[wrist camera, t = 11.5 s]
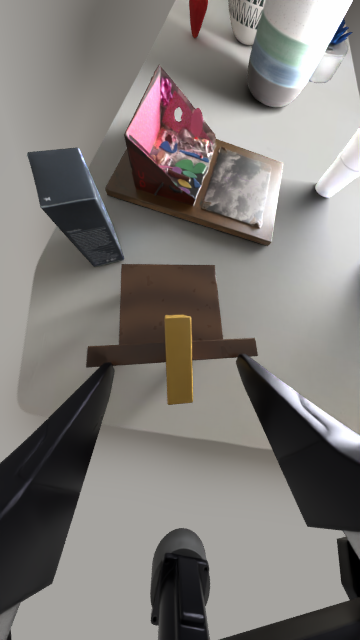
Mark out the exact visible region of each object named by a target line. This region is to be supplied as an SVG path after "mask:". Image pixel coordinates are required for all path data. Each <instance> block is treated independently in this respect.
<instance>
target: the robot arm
mask: <svg viewBox="0 0 360 640" xmlns="http://www.w3.org/2000/svg"><path fill="white" fill-rule="evenodd" d="M236 365H237V368H238V371H239V374H240V376H241V379H242V382H243V385H244V387H245V390H246V392H247V394H248V396H249V398H250V401H251V403H252V405H253V407H254V409H255V412H256V414H257V416H258V418H259V421H260V423H261V425H262V427H263V429H264V432H265V434H266V436H267V438H268V441H269V443H270V445H271V447H272V449H273V452H274V454H275V456H276V458H277V460H278V463H279V465H280V467H281V470H282V472H283V474H284V476H285V478H286V480H287V483H288V485H289V487H290V489H291V491H292V494H293V496H294V498H295V500H296V503H297V505H298V507H299V509H300V512H301V514H302V516H303V518H304V520H305V522H306V524H307V526H308V527H315V528H324V529H333V530H342V531H343V532H344V534H345V535H346V537H343V538H339V539H337V544H338V555H339V563H340V564H339V565H340V574H341V583H342V585H343V587H344V589H345V591H346V593H347V595H348V597H349V599H350V600H349V601H346V602H343V603H339V604H336V605H333V606H329V607H326V608H323V609H320V610H316V611H313V612H310V613H306V614H303V615H300V616H296V617H293V618H290V619H286V620H283V621H280V622H276V623H273V624H270V625H266V626H263V627H260V628H256V629H253V630H250V631H246V632H243V633H240V634H237V635H233V636H230V637H226V638H223V639H220V640H360V435H359V434H357V433H356V432H354V431H353V430H351V429H350V428H348V427H347V426H345V425H344V424H342V423H341V422H339V421H338V420H336V419H335V418H333V417H332V416H330V415H329V414H327V413H326V412H324V411H323V410H321V409H320V408H318V407H317V406H316V405H314V404H313V403H311V402H310V401H309V400H307V399H306V398H304V397H303V396H302V395H300V394H298V392H296V391H295V390H294V389H292V388H291V387H290V386H288V385H287V384H285V383H284V382H283V381H281V380H280V379H279V378H277V377H276V376H275V375H273V374H272V373H271V372H269V371H268V370H267V369H265V368H264V367H263V366H261V365H260V364H258V363H257V362H256V361H254V360H253V359H252V358H250V357H249V356H248V355H246V354H239V356H238V358H237V360H236ZM114 372H115V371H114V368H113V365H112V363H111V362H107V363H104V364H102V365H101V366H100V367H99V368H98V369H97V370H96V371H95V372H94V373H93V374H92V375H91V376H90V377H89V378H88V379H87V380H86V381H85V382H84V383H83V384H82V385H81V386H80V387H79V388H78V389H77V390H76V391H75V392H74V393H73V394H72V395H71V396H70V397H69V398H68V399H67V400H66V401H65V402H64V403H63V404H62V405H61V406H60V407H59V408H58V409H57V410H56V411H55V412H54V413H53V414H52V415H51V416H50V417H49V418H48V419H47V420H46V421H45V422H44V423H43V424H42V425H41V426H40V427H39V428H38V429H37V430H36V431H35V432H34V433H33V434H32V435H31V436H30V437H28V438H27V439H26V440H25V441H24V442H23V443H22V444H21V445H20V446H19V447H18V448H17V449H16V450H14V451H13V452H12V453H11V454H10V455H9V456H8V457H7V458H6V459H4V460H3V461H2V462H1V463H0V640H11V626H12V623H13V621H14V618H15V616H16V613H17V610H18V608H19V605H20V603H21V602H22V601H24V600H25V599H27V598H29V597H30V596H32V595H34V594H35V593H37V592H39V591H40V590H42V589H44V588H45V587H47V586H49V585H50V584H52V582H53V579H54V576H55V573H56V570H57V566H58V563H59V560H60V557H61V554H62V551H63V547H64V544H65V541H66V537H67V534H68V531H69V528H70V524H71V521H72V518H73V515H74V511H75V508H76V505H77V501H78V498H79V495H80V492H81V488H82V485H83V482H84V479H85V475H86V472H87V469H88V466H89V462H90V459H91V456H92V453H93V449H94V446H95V443H96V440H97V437H98V433H99V430H100V427H101V424H102V420H103V417H104V414H105V411H106V407H107V404H108V401H109V397H110V393H111V388H112V383H113V378H114ZM166 559H167V560H166ZM208 574H209V565H208V562H207V560H203V559H198V558H194V557H189V556H184V555H179V554H174V553H169V552H166V553H165V554H164V556H163V561H162V565H161V570H160V575H159V579H158V584H157V588H156V593H155V598H154V602H153V607H152V613H151V623H152V624H153V625H158V626H159V631H158V640H210V637H209V630H208V623H207V616H206V610H205V603H204V599H205V593H206V586H207V580H208Z"/></svg>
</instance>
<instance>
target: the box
mask: <svg viewBox="0 0 360 640" xmlns="http://www.w3.org/2000/svg"><path fill="white" fill-rule="evenodd" d="M27 156H28V159H29V162H30V165H31V169H32V173H33V176H34V180H35V185H36V189H37V193H38V197H39V202H40V207H41V208H42V209H43V211H44V212H45V213H46V214H47V215H48V216H49V217H50V218H51V219H52V221H53V222H54V223H55V224H56V225H57V226H58V227H59V229H60V230H61V231H62V232H63V233H64V234H65V235H66V236H67V237H68V238H69V240H70V241H71V242H72V243H73V244H74V245H75V246H76V247H77V249H78V250H79V251H80V252H81V253H82V254H83V255H84V256H85V257H86V259H87V260H88V261H89V262H90V263H91V264H92V265H93V266H94V267H97V266H101V265H105V264H109V263H113V262H117V261H121V260H124V256H123V253H122V250H121V247H120V245H119V242H118V238H117V236H116V233H115V230H114V226H113V224H112V222H111V219H110V217H109V215H108V213H107V210H106V208H105V206H104V204H103V201H102V199H101V197H100V195H99V192H98V190H97V188H96V186H95V183H94V181H93V179H92V177H91V174H90V172H89V170H88V167H87V165H86V163H85V161H84V158H83V156H82V154H81V151H80V149H79V148H68V149H57V150H47V151H37V152H28V154H27Z"/></svg>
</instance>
